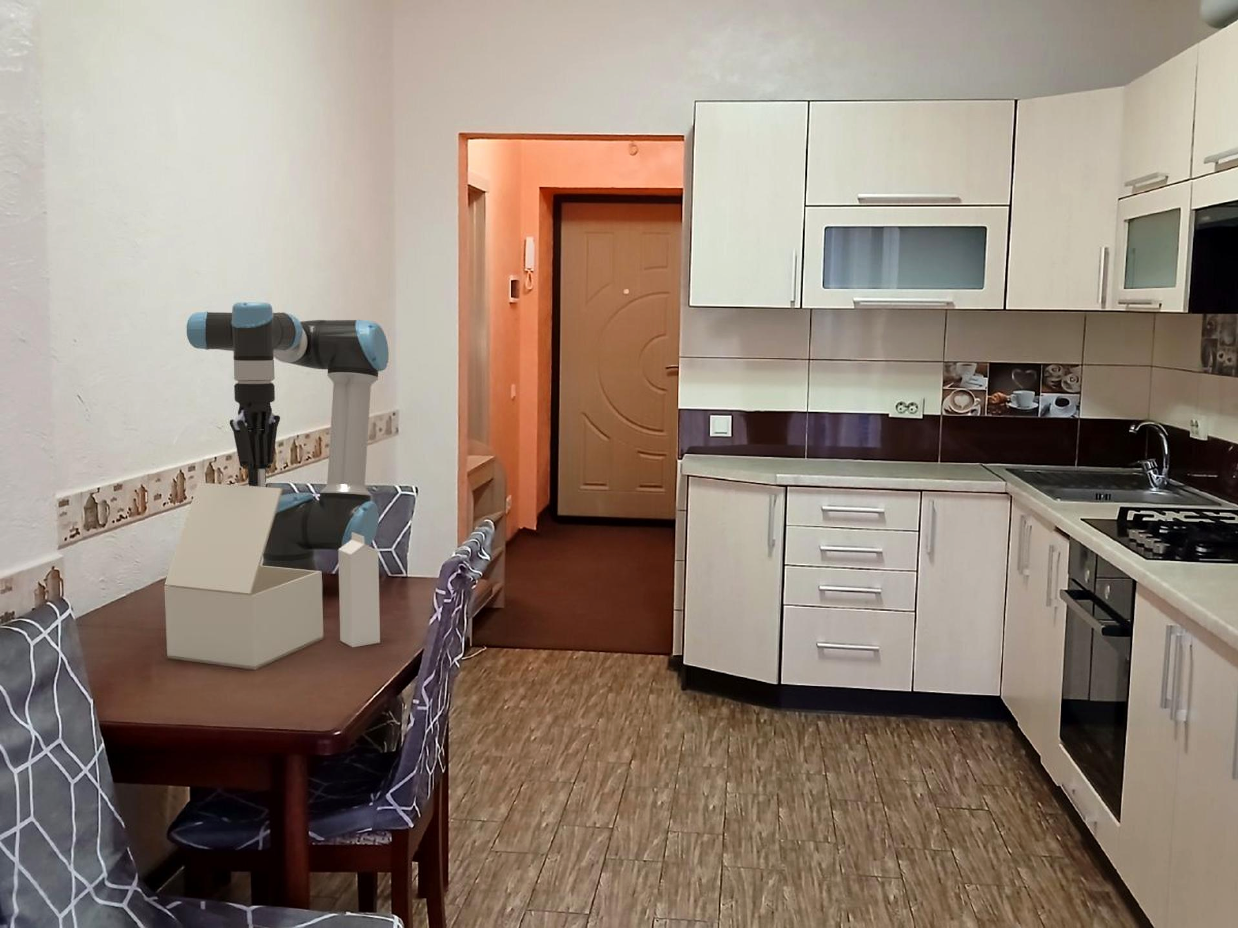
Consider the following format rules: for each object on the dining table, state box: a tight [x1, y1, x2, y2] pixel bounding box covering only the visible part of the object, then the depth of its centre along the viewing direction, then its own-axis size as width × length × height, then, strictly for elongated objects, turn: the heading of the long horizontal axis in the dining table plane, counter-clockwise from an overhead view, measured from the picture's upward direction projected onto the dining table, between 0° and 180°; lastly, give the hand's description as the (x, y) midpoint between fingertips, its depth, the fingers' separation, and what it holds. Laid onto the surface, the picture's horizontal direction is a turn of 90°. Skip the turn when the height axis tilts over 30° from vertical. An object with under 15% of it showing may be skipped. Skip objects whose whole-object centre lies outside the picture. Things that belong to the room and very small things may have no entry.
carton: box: [164, 564, 324, 671], centre depth 228 cm, size 22×20×14 cm
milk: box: [337, 532, 381, 648], centre depth 233 cm, size 6×6×22 cm
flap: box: [164, 482, 284, 594], centre depth 221 cm, size 21×19×1 cm
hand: (257, 501), depth 230 cm, fingers closed
